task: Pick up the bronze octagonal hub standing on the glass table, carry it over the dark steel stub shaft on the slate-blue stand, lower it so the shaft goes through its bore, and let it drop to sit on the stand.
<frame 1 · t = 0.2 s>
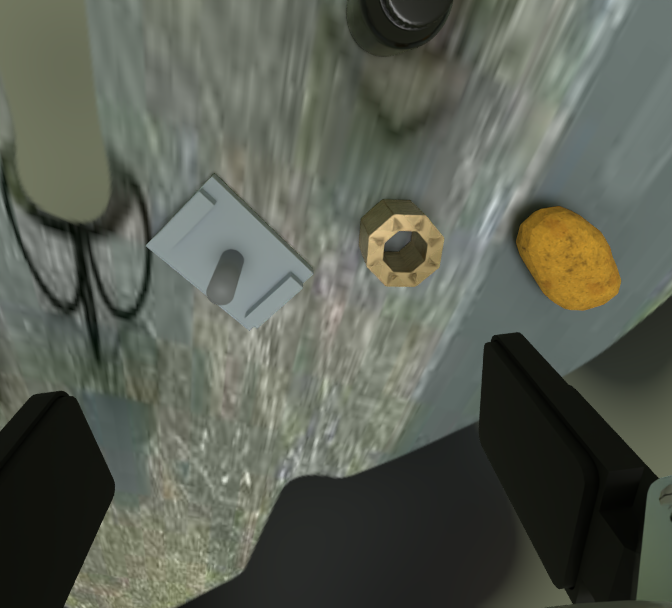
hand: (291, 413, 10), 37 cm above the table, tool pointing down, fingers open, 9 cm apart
shaft stand: (234, 255, 46), on the table
hub: (392, 233, 47), on the table
potato: (549, 247, 49), on the table
supplement bottle: (384, 12, 38), on the table
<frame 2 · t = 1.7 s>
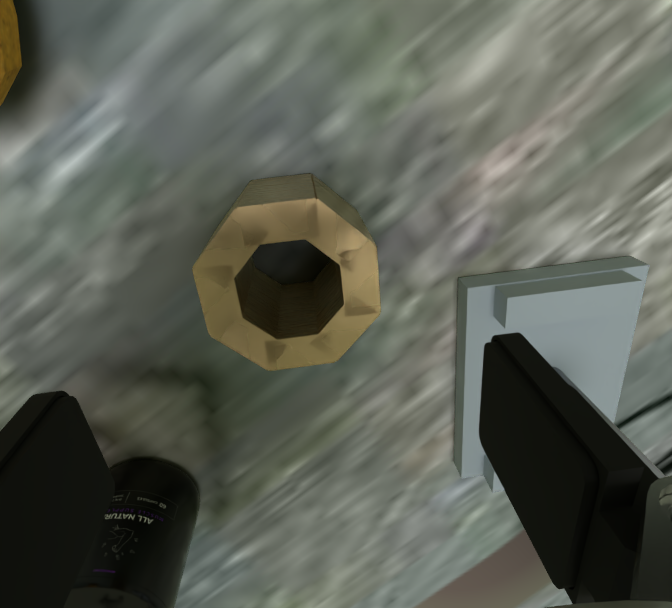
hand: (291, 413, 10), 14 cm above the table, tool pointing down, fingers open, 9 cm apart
shaft stand: (532, 369, 28), on the table
hub: (291, 246, 23), on the table
supplement bottle: (150, 491, 30), on the table
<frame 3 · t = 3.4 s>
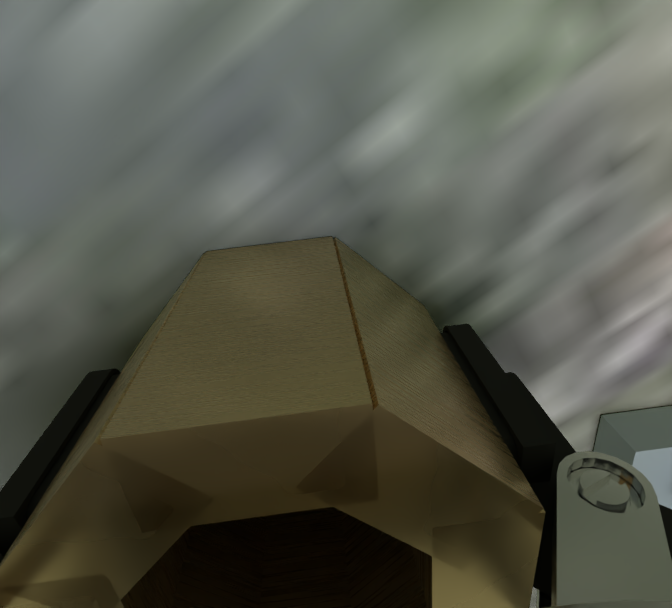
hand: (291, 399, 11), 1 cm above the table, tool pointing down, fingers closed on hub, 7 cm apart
hub: (292, 372, 12), on the table, touching gripper
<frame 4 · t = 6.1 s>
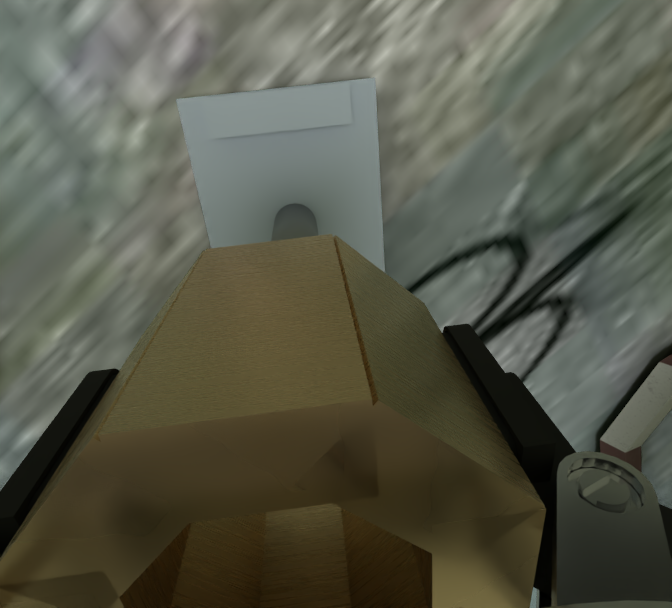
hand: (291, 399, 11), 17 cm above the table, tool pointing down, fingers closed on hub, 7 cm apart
shaft stand: (295, 217, 26), on the table
hub: (291, 370, 12), point 16 cm above the table, touching gripper
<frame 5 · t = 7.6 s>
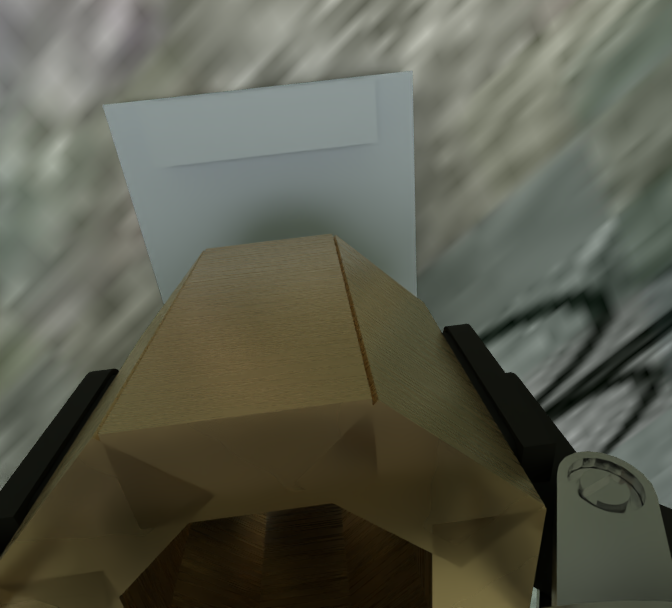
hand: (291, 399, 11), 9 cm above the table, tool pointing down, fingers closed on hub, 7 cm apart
shaft stand: (291, 271, 18), on the table
hub: (291, 370, 12), point 8 cm above the table, touching gripper
when the fingers open (4 cm above the table, at t = 8.9 s): hub drops 1 cm, resting on shaft stand.
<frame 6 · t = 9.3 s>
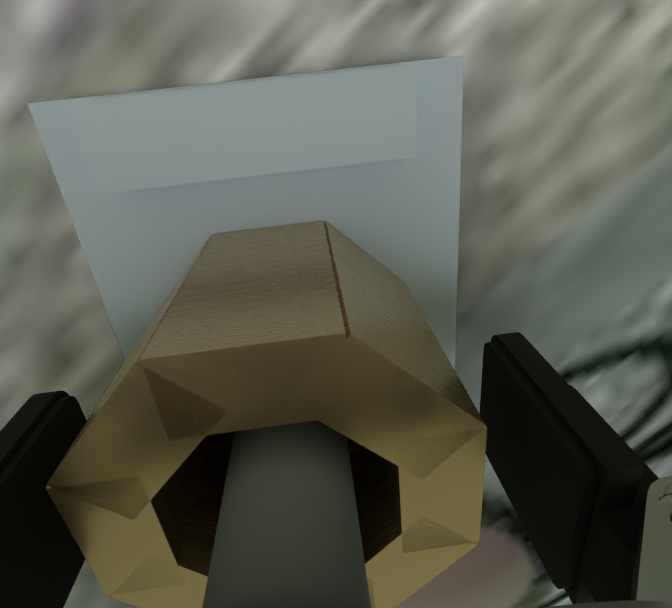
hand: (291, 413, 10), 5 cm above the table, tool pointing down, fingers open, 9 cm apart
shaft stand: (293, 317, 14), on the table
hub: (289, 342, 13), point 1 cm above the table, touching shaft stand
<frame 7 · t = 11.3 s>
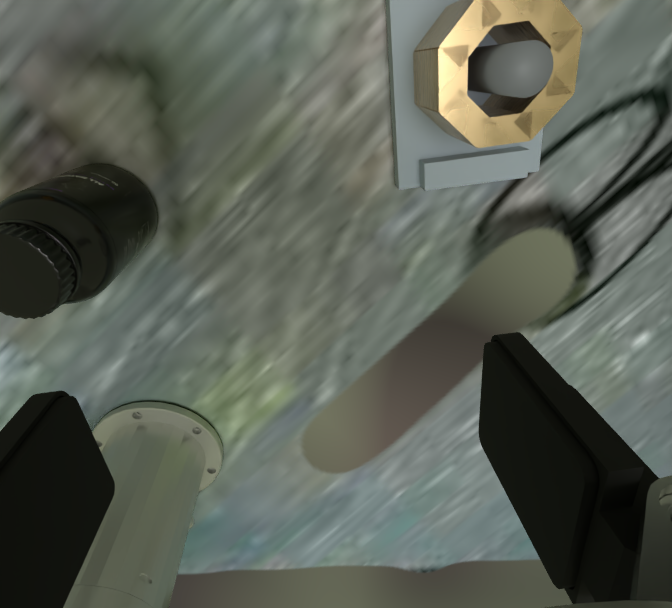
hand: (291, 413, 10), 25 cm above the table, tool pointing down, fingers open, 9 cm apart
shaft stand: (464, 69, 29), on the table
hub: (470, 70, 28), point 1 cm above the table, touching shaft stand
supplement bottle: (112, 208, 32), on the table
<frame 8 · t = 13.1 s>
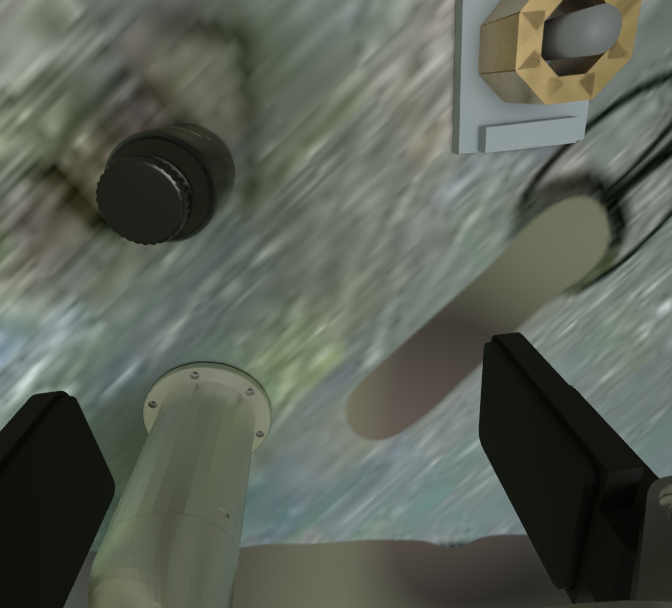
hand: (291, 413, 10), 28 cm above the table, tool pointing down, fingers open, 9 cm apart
shaft stand: (520, 45, 32), on the table
hub: (528, 45, 31), point 1 cm above the table, touching shaft stand
supplement bottle: (192, 168, 35), on the table
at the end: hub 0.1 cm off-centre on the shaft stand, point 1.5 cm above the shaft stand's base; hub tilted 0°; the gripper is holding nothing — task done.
